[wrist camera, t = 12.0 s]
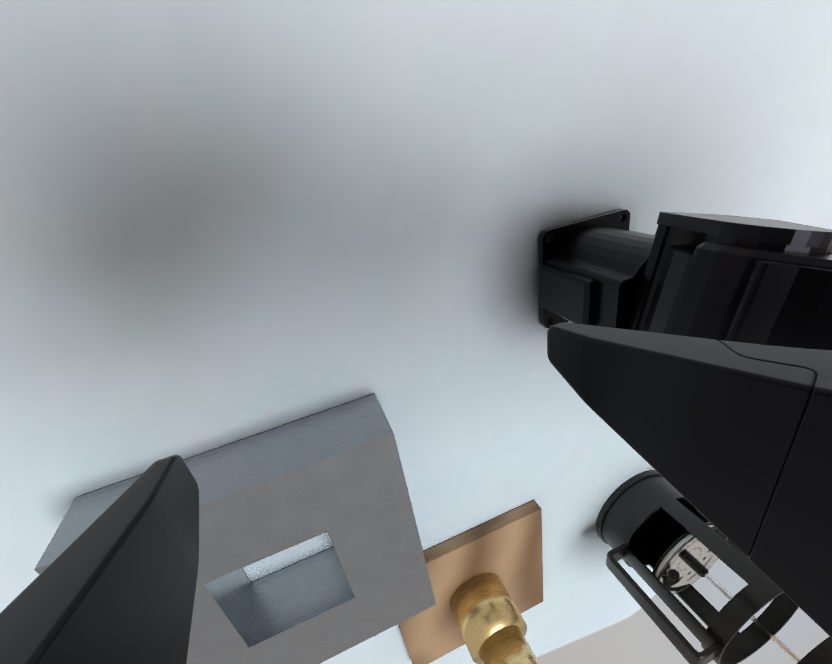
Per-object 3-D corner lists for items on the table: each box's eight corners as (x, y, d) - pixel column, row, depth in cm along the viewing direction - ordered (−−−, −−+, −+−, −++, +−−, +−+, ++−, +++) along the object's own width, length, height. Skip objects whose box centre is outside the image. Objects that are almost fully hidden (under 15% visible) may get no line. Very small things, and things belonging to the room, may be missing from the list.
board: (534, 499, 33) (541, 508, 32) (537, 591, 39) (543, 601, 38) (381, 571, 30) (384, 583, 29) (411, 658, 36) (414, 671, 35)
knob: (498, 563, 33) (570, 685, 25) (502, 595, 35) (569, 716, 28) (446, 590, 32) (505, 727, 24) (454, 622, 34) (509, 755, 26)
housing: (374, 393, 23) (393, 433, 20) (416, 554, 30) (436, 604, 27) (75, 497, 19) (34, 569, 16) (205, 653, 27) (196, 726, 23)
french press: (678, 454, 39) (1115, 759, 19) (666, 515, 43) (1011, 817, 23) (583, 500, 36) (979, 916, 16) (580, 560, 40) (889, 949, 20)
